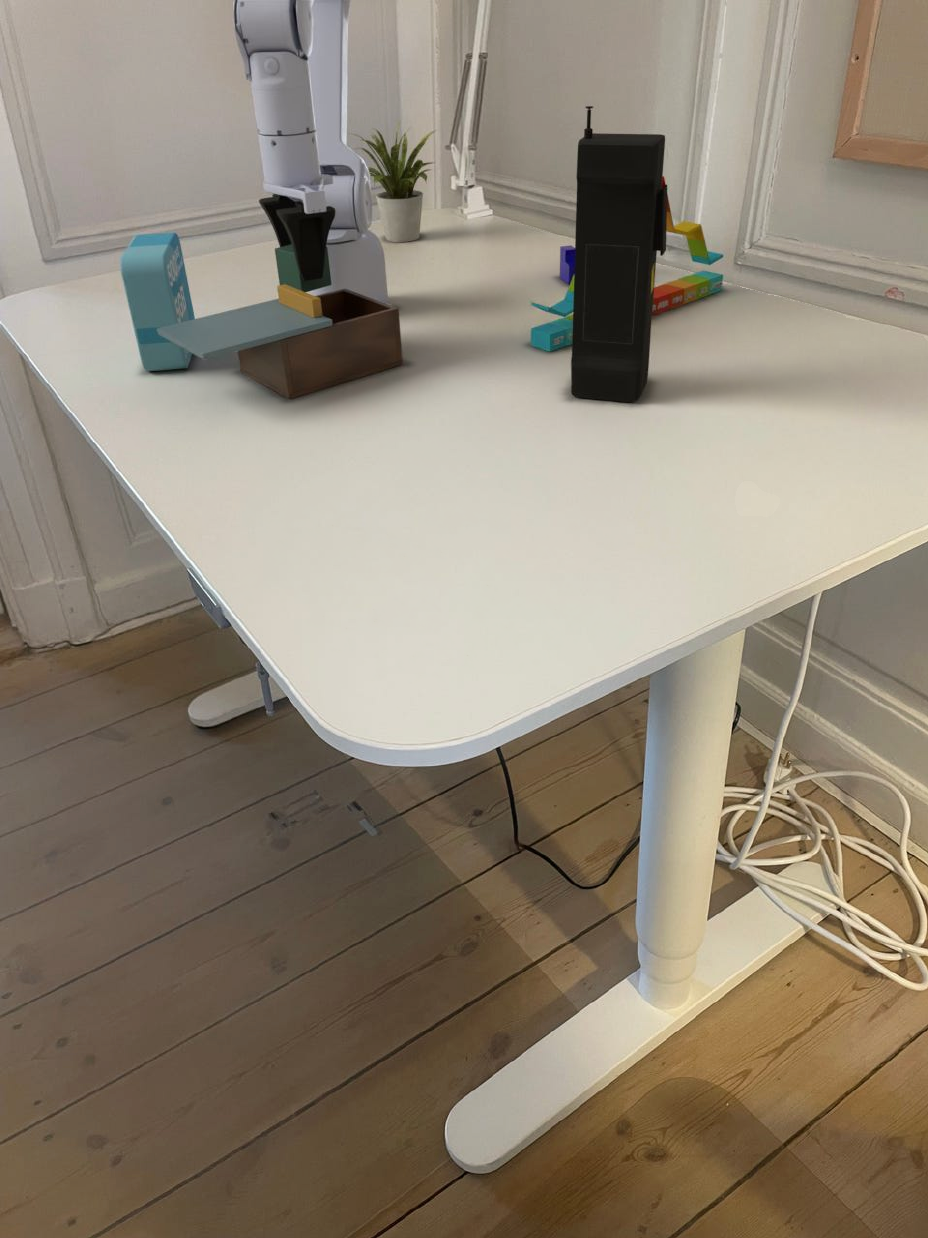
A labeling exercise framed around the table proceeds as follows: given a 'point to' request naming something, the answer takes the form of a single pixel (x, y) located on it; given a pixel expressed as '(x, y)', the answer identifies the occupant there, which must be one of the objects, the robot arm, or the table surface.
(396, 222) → the house plant
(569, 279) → the cable holder
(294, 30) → the robot arm
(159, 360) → the data package
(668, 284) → the chart
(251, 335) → the sliding box lid
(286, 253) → the block
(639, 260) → the portable radio
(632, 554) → the table surface
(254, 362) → the case
